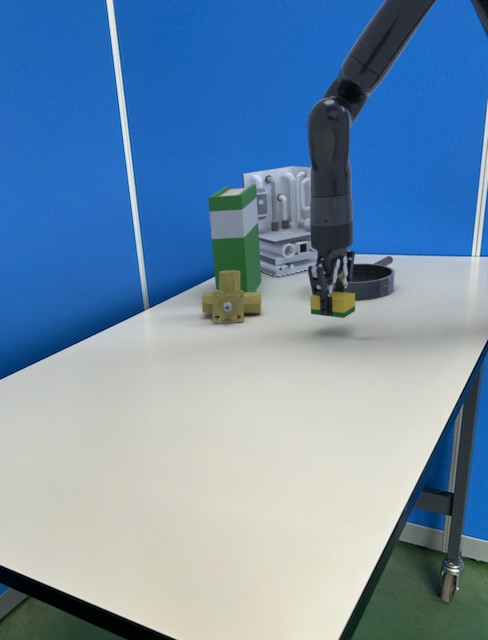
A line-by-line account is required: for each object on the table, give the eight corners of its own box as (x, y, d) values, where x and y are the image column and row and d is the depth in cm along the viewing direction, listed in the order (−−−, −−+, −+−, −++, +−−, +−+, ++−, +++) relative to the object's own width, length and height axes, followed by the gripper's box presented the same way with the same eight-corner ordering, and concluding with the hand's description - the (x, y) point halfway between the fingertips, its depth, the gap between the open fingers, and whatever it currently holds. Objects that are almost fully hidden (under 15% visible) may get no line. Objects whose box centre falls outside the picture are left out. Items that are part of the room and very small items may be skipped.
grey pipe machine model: (296, 257, 180) (293, 165, 170) (334, 268, 164) (334, 168, 153) (248, 267, 175) (242, 173, 165) (282, 280, 159) (278, 177, 149)
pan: (406, 283, 145) (406, 266, 144) (373, 304, 134) (374, 285, 132) (339, 277, 156) (339, 261, 154) (303, 296, 144) (303, 279, 143)
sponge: (355, 311, 118) (355, 293, 117) (344, 318, 115) (343, 299, 114) (322, 307, 123) (322, 290, 121) (310, 314, 120) (310, 296, 118)
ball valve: (204, 316, 141) (199, 324, 131) (204, 270, 138) (198, 275, 128) (261, 316, 139) (259, 324, 130) (261, 269, 136) (260, 274, 126)
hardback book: (233, 282, 162) (226, 186, 151) (261, 282, 159) (256, 184, 149) (217, 303, 146) (208, 197, 136) (248, 302, 144) (241, 195, 134)
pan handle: (394, 263, 156) (394, 255, 156) (374, 274, 149) (374, 266, 148) (386, 262, 158) (386, 255, 157) (366, 273, 150) (367, 265, 149)
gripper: (330, 228, 105) (332, 325, 112) (368, 212, 114) (368, 302, 121) (292, 227, 109) (296, 320, 117) (331, 212, 119) (333, 298, 126)
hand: (332, 310), depth 119 cm, fingers closed on sponge, 4 cm apart
